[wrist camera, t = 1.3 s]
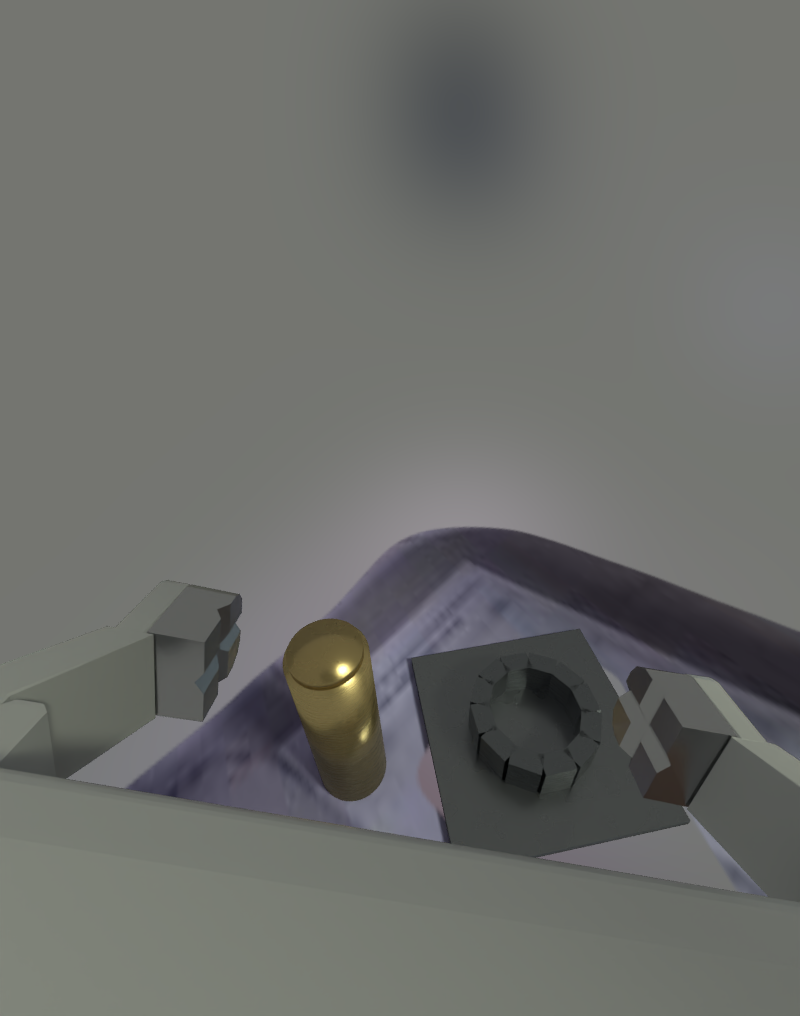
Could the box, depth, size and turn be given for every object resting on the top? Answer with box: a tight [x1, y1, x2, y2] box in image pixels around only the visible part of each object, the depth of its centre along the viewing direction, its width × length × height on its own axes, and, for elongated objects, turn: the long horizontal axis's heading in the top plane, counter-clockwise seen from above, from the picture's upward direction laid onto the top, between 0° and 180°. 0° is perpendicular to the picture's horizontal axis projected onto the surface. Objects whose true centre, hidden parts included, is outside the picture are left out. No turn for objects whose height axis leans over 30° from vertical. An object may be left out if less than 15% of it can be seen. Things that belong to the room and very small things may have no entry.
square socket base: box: [412, 629, 690, 858], centre depth 36 cm, size 16×16×4 cm
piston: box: [283, 619, 386, 801], centre depth 31 cm, size 5×5×15 cm
